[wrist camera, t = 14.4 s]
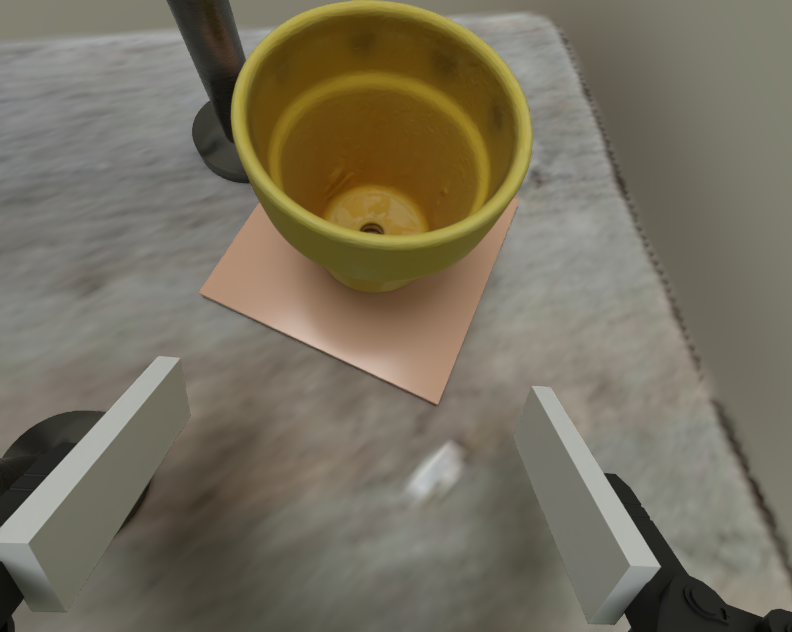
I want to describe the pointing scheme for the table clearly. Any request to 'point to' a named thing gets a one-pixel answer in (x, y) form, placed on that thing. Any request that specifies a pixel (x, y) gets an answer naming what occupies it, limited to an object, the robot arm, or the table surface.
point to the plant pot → (380, 139)
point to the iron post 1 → (49, 446)
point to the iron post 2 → (213, 79)
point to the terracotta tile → (357, 305)
